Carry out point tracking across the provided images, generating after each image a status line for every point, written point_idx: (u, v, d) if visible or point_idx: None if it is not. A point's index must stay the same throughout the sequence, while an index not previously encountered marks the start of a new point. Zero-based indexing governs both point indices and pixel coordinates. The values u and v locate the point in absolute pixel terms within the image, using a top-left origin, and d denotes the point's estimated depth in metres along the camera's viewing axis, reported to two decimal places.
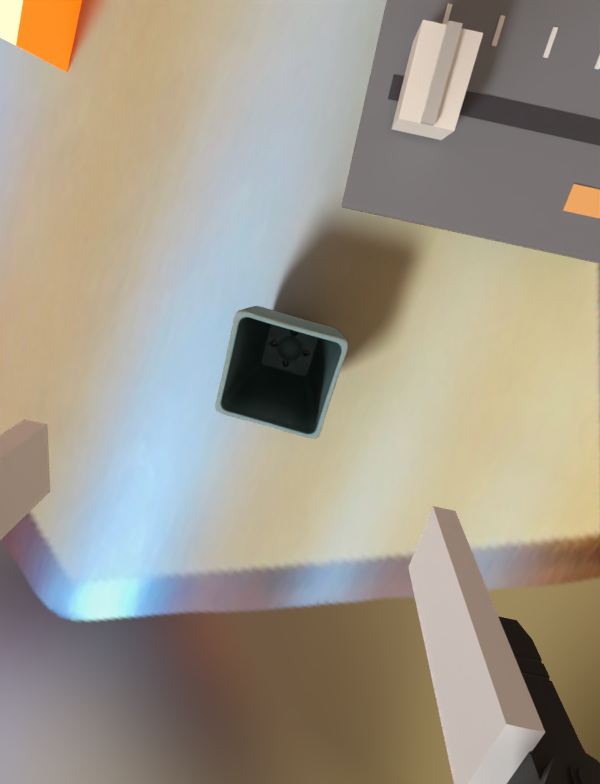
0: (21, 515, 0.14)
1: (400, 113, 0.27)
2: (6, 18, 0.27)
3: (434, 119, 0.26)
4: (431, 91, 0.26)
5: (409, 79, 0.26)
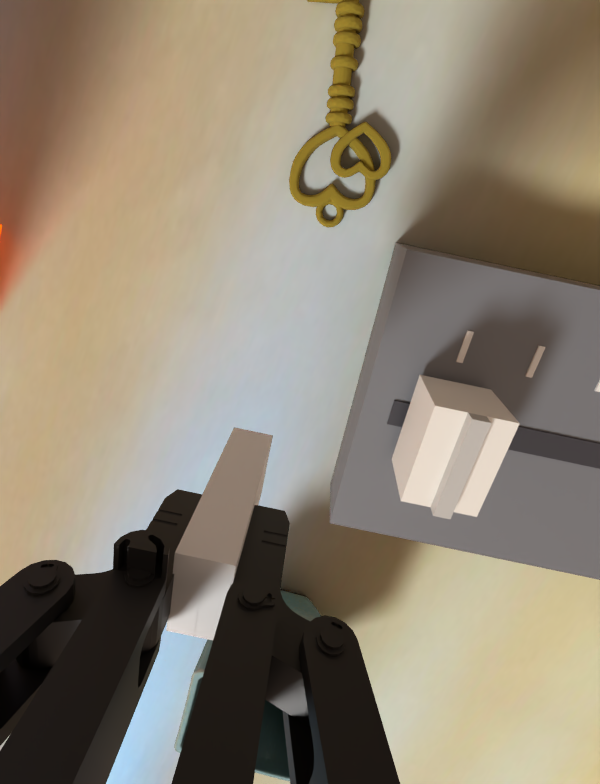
0: None
1: (403, 496, 0.20)
2: None
3: (450, 515, 0.19)
4: (446, 487, 0.19)
5: (415, 464, 0.19)
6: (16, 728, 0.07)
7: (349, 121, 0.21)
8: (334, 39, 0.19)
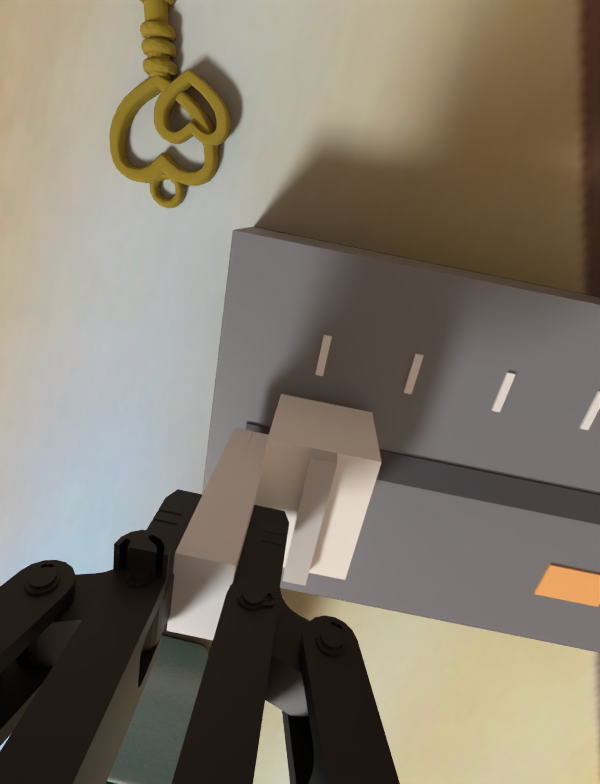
0: None
1: None
2: None
3: (303, 580, 0.15)
4: (293, 545, 0.14)
5: None
6: (16, 728, 0.07)
7: (171, 70, 0.16)
8: None
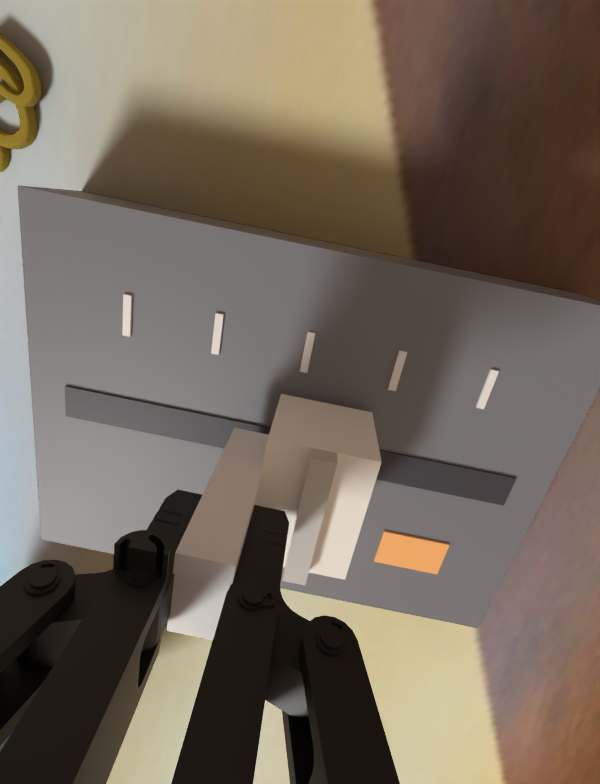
0: None
1: None
2: None
3: (303, 580, 0.15)
4: (293, 545, 0.14)
5: None
6: (16, 728, 0.07)
7: None
8: None
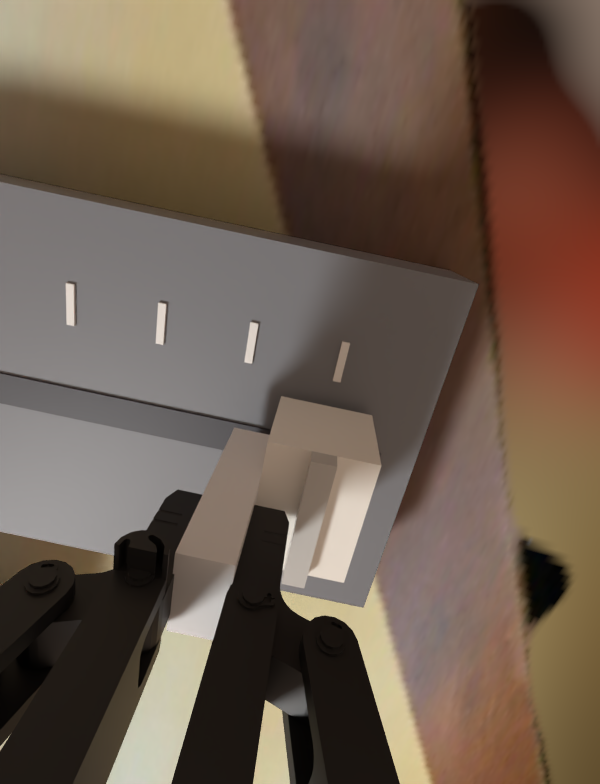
0: None
1: None
2: None
3: (302, 583, 0.15)
4: (292, 548, 0.14)
5: None
6: (16, 728, 0.07)
7: None
8: None
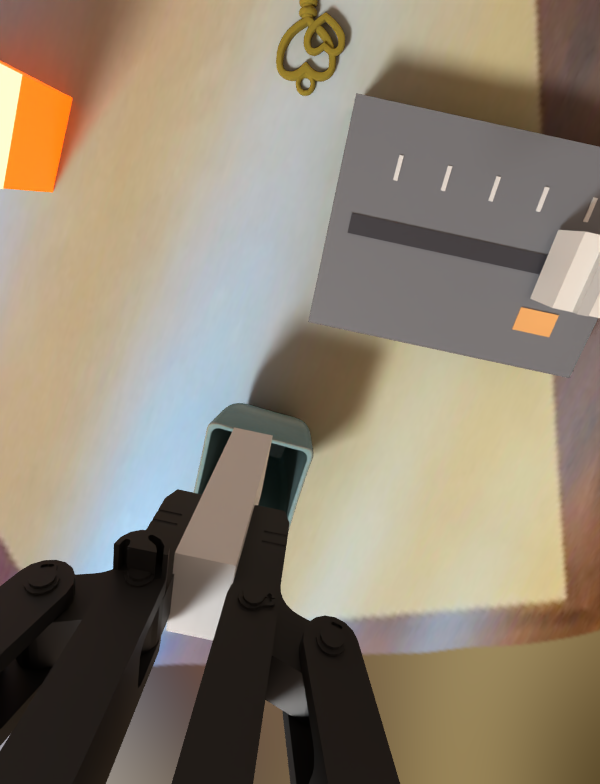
0: None
1: (554, 303, 0.29)
2: None
3: (588, 313, 0.29)
4: (588, 291, 0.28)
5: (566, 277, 0.28)
6: (16, 728, 0.07)
7: (315, 13, 0.30)
8: None
